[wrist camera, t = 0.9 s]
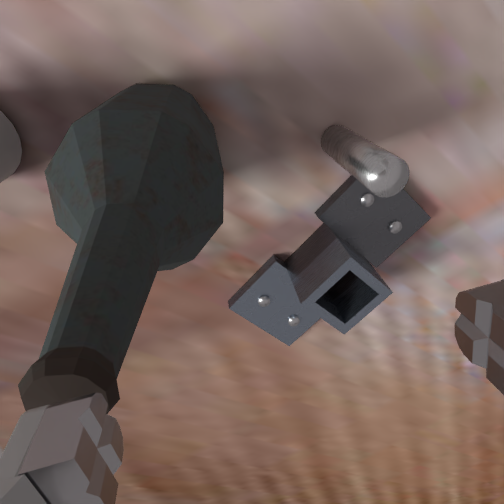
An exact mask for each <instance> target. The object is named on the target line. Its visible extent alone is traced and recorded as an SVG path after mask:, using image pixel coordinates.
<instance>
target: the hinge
mask: <svg viewBox="0 0 504 504" xmlns="http://www.w3.org/2000/svg"><path fill="white" fill-rule="evenodd" d="M315 214H316V215H317V217H318V218H319V219H320V220H321V221H323V222H324V223H323V224H322V225H321V226H320V227H319V228H318V229H317V230H316V231H315V232H314V233H313V234H312V235H311V236H310V237H309V238H308V239H307V240H306V241H305V242H304V243H303V244H302V245H301V246H300V247H299V248H298V249H297V250H296V251H295V252H294V253H293V254H292V255H291V256H290V257H289V258H288V259H287V260H286V261H285V262H283V261H281V260H280V259H279V258H277V257H276V256H275V255H273V256H272V257H271V258H270V259H269V260H268V261H267V262H266V263H265V264H264V265H263V266H262V267H261V268H260V269H259V270H258V271H257V272H256V273H255V274H254V275H253V276H252V277H251V278H250V279H249V280H248V281H247V282H246V283H245V284H244V285H243V286H242V287H241V288H240V289H239V290H238V291H237V292H236V293H235V294H234V295H233V296H232V298H231V299H230V300H229V301H228V304H229V309H231V310H232V311H234V312H235V313H237V314H239V315H240V316H242V317H243V318H245V319H247V320H248V321H250V322H251V323H253V324H255V325H256V326H258V327H259V328H261V329H263V330H264V331H266V332H267V333H269V334H271V335H272V336H274V337H275V338H277V339H279V340H280V341H282V342H283V343H285V344H287V345H288V346H290V345H291V344H292V343H293V342H294V341H296V340H297V339H298V338H299V337H300V336H301V335H302V334H303V333H304V332H305V331H307V330H308V329H309V328H310V327H311V326H312V325H313V324H314V323H315V322H317V321H318V320H319V319H320V318H322V319H323V320H324V321H326V322H327V323H329V324H330V325H332V326H333V327H334V328H336V329H337V330H339V331H340V332H341V333H343V334H345V333H347V332H348V331H349V330H350V329H351V328H352V327H354V326H355V325H356V324H357V323H358V322H359V321H360V320H362V319H363V318H364V317H365V316H366V315H367V314H369V313H370V312H371V311H372V310H373V309H374V308H375V307H377V306H378V305H379V304H380V303H381V302H382V301H384V300H385V299H386V298H387V297H388V296H389V295H390V294H392V293H393V292H392V291H391V289H390V288H389V287H388V286H387V284H386V283H385V282H384V281H383V279H382V278H381V277H380V276H379V274H378V273H377V272H376V270H375V269H374V268H373V267H372V265H374V266H375V267H377V266H379V265H380V264H381V263H382V262H383V261H384V260H385V259H386V258H387V257H388V256H390V255H391V254H392V253H393V252H394V251H395V250H396V249H397V248H398V247H400V246H401V245H402V244H403V243H404V242H405V241H406V240H407V239H408V238H409V237H411V236H412V235H413V234H414V233H415V232H416V231H417V230H418V229H419V228H421V227H422V226H423V225H424V224H425V223H426V222H427V221H428V220H429V219H431V217H430V216H429V215H428V214H427V213H426V212H425V211H424V210H423V209H422V208H421V207H420V206H419V205H418V204H417V203H416V202H415V201H414V200H413V199H412V197H411V196H410V195H409V194H408V193H407V192H406V191H405V190H404V189H402V190H401V191H400V192H399V193H397V194H396V195H394V196H391V197H385V198H384V197H379V196H377V195H375V194H374V193H373V192H371V191H370V190H369V189H368V188H367V187H366V186H364V185H363V184H362V183H361V182H360V181H358V180H357V179H356V178H355V177H354V176H352V175H351V176H350V177H349V178H348V179H347V180H346V181H345V182H344V183H343V184H342V185H341V186H340V187H339V188H338V189H337V190H336V191H335V192H334V193H333V194H332V195H331V197H330V198H329V199H328V200H327V201H326V202H325V203H324V204H323V205H322V206H321V207H320V208H319V209H318V210H317V211H316V212H315ZM368 261H369V262H370V263H371V264H372V265H371V264H370V263H369V262H368Z"/></svg>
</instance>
